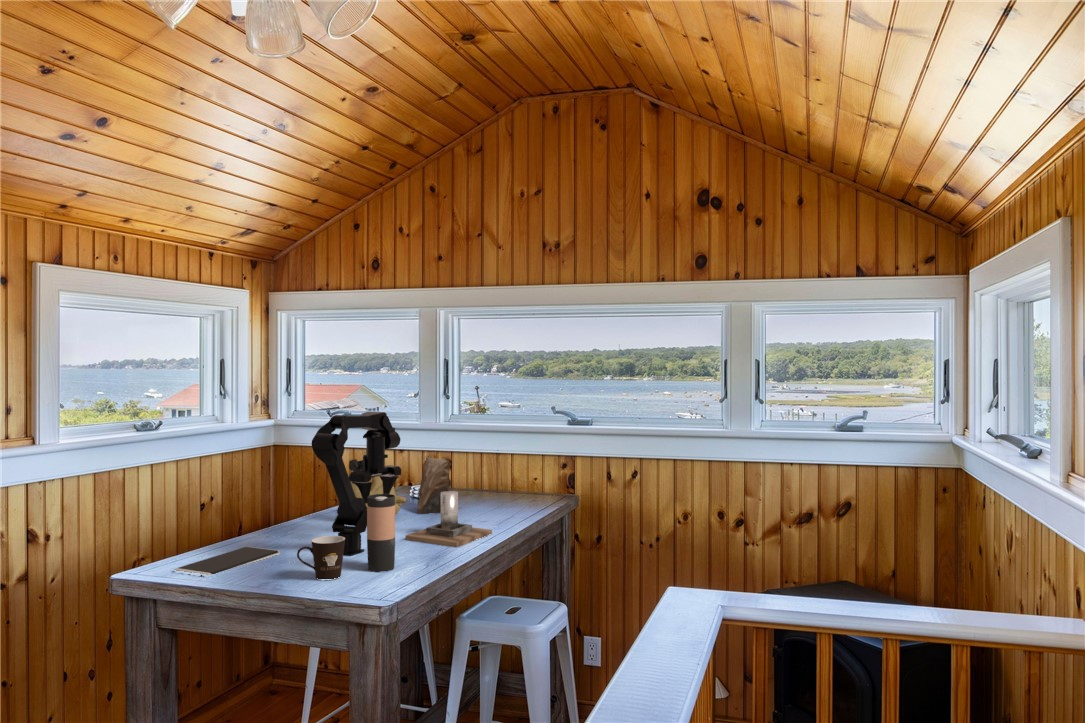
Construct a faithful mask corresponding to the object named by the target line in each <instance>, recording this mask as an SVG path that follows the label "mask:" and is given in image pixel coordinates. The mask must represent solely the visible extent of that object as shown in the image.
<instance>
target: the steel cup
mask: <svg viewBox="0 0 1085 723" xmlns="http://www.w3.org/2000/svg"><path fill="white" fill-rule="evenodd" d="M440 523H441V529H449V530H453V529H456V528H458V523H459V492H458V491H455V490H449V491H444V492H441V513H440Z"/></svg>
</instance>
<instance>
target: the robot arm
mask: <svg viewBox="0 0 1085 723" xmlns="http://www.w3.org/2000/svg"><path fill="white" fill-rule="evenodd" d="M358 428H361V429H363V430H366V432H364V434H363V435H362V439H365V440H366V445H365V446H366V450H365V451H366V453H365V454H364V455H363V457H362V460H357V459H351V460H349V461H348V469H349V471H350V470H351V471H352V470H353V472H351V473H350V472H349V474H348V471H347V468H346V465H345V463H344V460H343V456H344V452H345V451H346V450H345V444H346V442H347V441H348V439H349V438H348V437H349V434H348V430H349V429H358ZM336 429H337V430H341V431H340V432H339V433H334V432H335V431H336ZM400 443H401V437H400V435H399V433H398V431H396V427H393V425H392V423H391V420H390V419H389V416H388V415H387V413H386V412H385V411H366V412H363V413H361V414H360V415H347V414H345V415H341V414H335V415H333V416H331V417H330V419H329V421H328V422H327V423H326V424H325V423H324V425H323V426H321V427H320V428H318V430H317V432H316V434H314V437H313V438H312V440H311V449H312V451H313V453H314V454H315V457H316V458H317V459H319V460H320V461H321V462H322V463H323V464H324V465H325V467H326V471H327V474H328V476H329V479H330V480H331V483H332V484H331V485H332V486H333V489H334V492H335V495H336V498H337V500H338V502H339V503H338V506H337V509H336V513H337V515H336V517H335V519H334V521H333V522H332V525H331V529H332V533H337V536H341V537H344V538H345V544H344V553H343V556H354V555H356V554H359V553H364V552H365V548H364V549H363V548H362V533H364V532H367V506H366V504H367V497H368V496H369V495H370V490H371V485H372V477H376V476H379V477H380V478H381V480H382V482H383V494H389V493H390V491H391V489H392V487H393V486H394V484H395V483H396V481H397V479H399V478H400V477H399V476H402V468H401V467H400V466H399V465H386V459H387V458H389V455H388V454H386V450H390V449H396V448H398V446H399V445H400ZM348 475H349V476H348ZM381 475H382V476H381ZM350 481H352V483H353V484H355V485H356V486H357V487H358V488H359V490H360V493H361V496H362V498H357V497H356V496H355V494H354V491H353V488H352V485H351V482H350ZM365 503H366V504H365Z"/></svg>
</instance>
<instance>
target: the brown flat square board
mask: <svg viewBox="0 0 1085 723" xmlns="http://www.w3.org/2000/svg"><path fill="white" fill-rule="evenodd" d="M489 534H492V535H493V530H492V529H489V528H481V527H473V524H466V523H459V522H458V528H456V529H453V530H449V529H441V522H439V523H437V524H434V525H430V526H428V527H426V528H424V529H422V530H418V531H415V532H412V533H409V534H405V538H404V539H405V541H409V542H410V541H411V542H417V543H422V544H423V543H425V544H432V545H437V546H445V547H452V548H458V547H459V548H460V547H462V546H465V545H467V544H469V543H473V542H475V541H474V540H476V539H478V540H480V539H479V538H481V539H483V538H482V537H484V536H486V537H488V536H487V535H489ZM489 536H490V535H489ZM484 538H485V537H484ZM472 541H473V542H472ZM476 541H477V540H476Z"/></svg>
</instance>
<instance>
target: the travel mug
mask: <svg viewBox="0 0 1085 723" xmlns="http://www.w3.org/2000/svg"><path fill="white" fill-rule="evenodd" d="M366 546H367V547H366V549H367V552H366V553H367V570H368V571H369V570H370V571H369V572H372V571H377V572H376V573H380V572H379V571H386V572H390V571H394V569H395V562H396V560H395V558H396V556H395V555H396V553H395V552H396V515H395V495H392V494H375V495H370V496H368V497H367V526H366ZM389 570H390V571H389Z"/></svg>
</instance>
